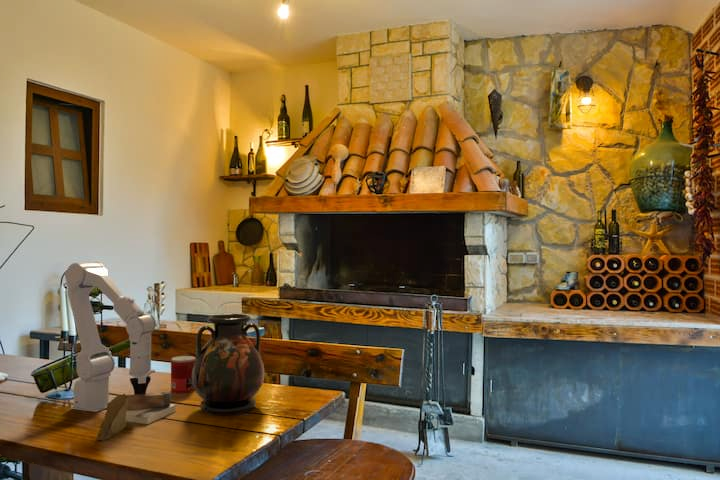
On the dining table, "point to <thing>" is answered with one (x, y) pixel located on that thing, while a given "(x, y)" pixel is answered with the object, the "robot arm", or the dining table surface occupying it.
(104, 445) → the dining table surface
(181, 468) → the dining table surface
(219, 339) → the amphora vase
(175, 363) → the canned food
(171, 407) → the stool seat
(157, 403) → the stool leg
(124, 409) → the rock
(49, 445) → the dining table surface
